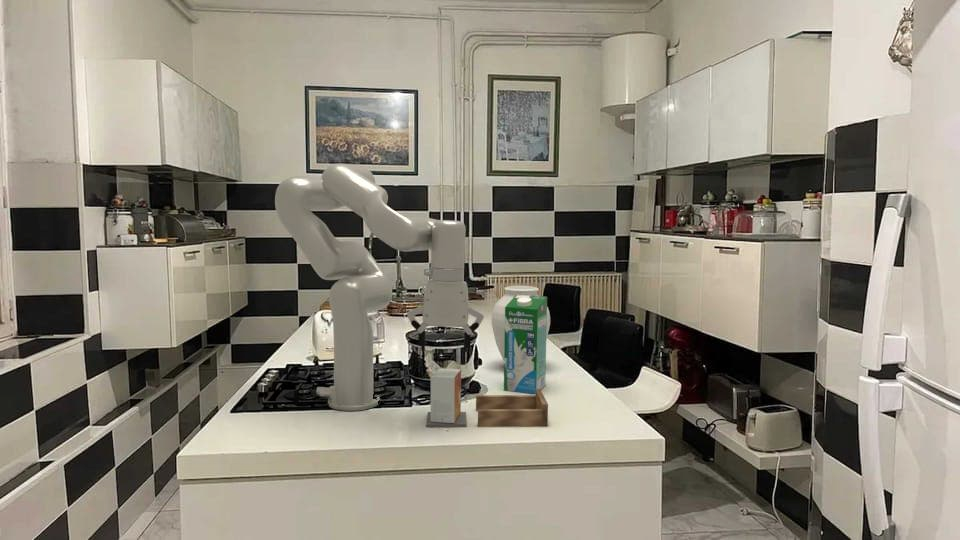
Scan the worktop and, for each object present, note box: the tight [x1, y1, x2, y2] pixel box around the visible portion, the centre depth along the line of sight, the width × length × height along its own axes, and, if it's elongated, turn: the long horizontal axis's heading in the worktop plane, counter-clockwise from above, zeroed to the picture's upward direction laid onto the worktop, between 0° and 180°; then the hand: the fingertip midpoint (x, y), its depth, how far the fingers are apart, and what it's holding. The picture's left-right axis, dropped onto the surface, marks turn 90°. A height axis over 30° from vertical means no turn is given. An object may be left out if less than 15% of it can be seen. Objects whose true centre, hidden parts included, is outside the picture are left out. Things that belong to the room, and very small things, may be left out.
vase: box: [491, 285, 551, 361], centre depth 196 cm, size 18×18×25 cm
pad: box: [425, 411, 468, 428], centre depth 147 cm, size 9×9×1 cm
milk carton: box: [503, 295, 548, 395], centre depth 174 cm, size 9×9×25 cm
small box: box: [430, 368, 462, 423], centre depth 147 cm, size 8×6×10 cm
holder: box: [475, 389, 549, 427], centre depth 150 cm, size 16×12×5 cm
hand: (444, 350), depth 146 cm, fingers open, 9 cm apart
